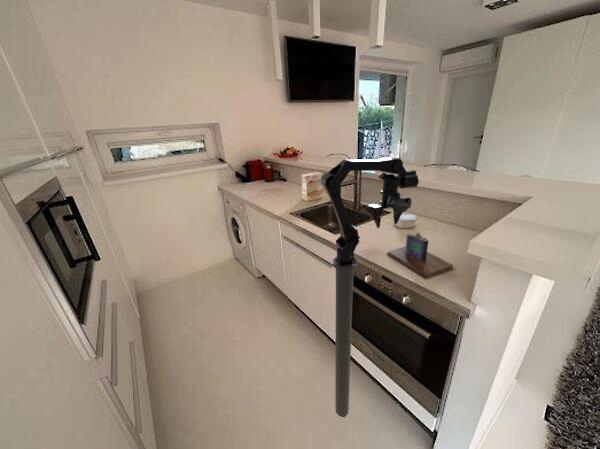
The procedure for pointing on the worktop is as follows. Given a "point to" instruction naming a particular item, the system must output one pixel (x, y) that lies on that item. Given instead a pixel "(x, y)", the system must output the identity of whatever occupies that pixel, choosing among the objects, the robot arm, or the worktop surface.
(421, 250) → the flask
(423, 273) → the serving board
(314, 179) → the coffeecake box
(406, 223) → the ramekin
